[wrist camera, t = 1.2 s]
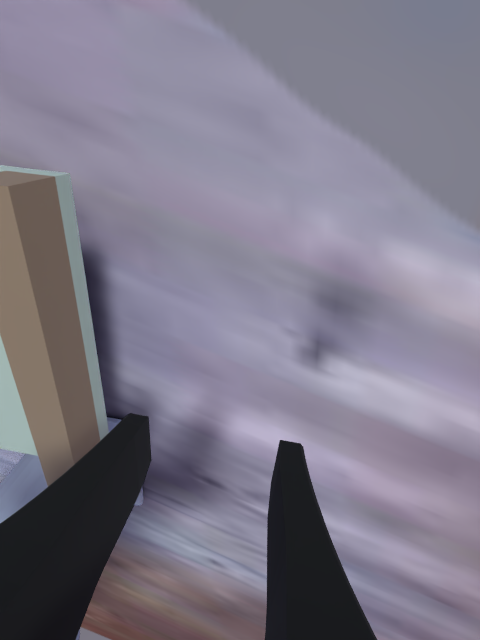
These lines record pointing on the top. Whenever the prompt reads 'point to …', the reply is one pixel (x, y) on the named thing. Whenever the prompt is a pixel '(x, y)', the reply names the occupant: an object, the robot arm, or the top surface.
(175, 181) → the top surface
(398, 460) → the top surface
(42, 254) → the lid
